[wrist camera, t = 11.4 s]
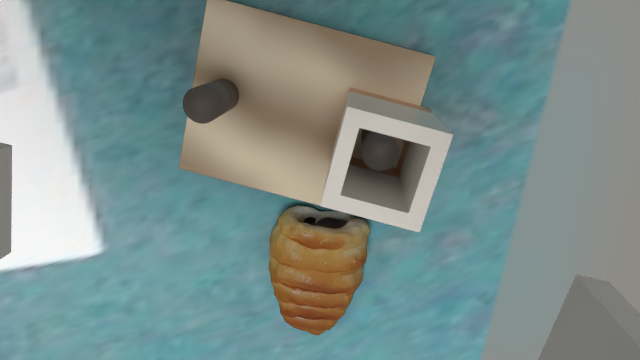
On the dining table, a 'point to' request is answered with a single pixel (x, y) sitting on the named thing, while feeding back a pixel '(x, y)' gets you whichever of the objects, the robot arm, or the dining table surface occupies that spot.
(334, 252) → the pastry
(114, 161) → the dining table surface
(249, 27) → the pin board
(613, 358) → the robot arm
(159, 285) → the dining table surface
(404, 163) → the sleeve
